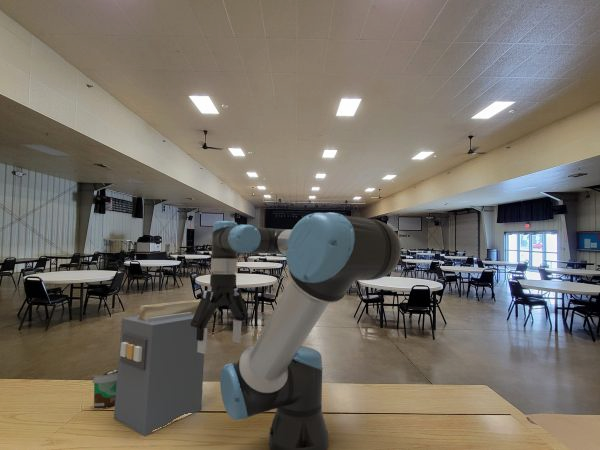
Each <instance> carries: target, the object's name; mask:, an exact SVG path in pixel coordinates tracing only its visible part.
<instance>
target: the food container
mask: <svg viewBox="0 0 600 450" xmlns="http://www.w3.org/2000/svg"><path fill="white" fill-rule="evenodd" d="M117 374H118V368H115V369H111V370H109V371H107V372H105V373H104V374H102V375H94V376H93V380H92V384H94V385H93V390H94V391H93V409H94V408H103V409H107V408H106V407H109V408H112V407H115V398H116V386H117Z"/></svg>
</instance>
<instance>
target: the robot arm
mask: <svg viewBox="0 0 600 450" xmlns="http://www.w3.org/2000/svg"><path fill="white" fill-rule="evenodd" d="M212 227H213V228H212V232H211V236H212V237H211V256H210V257H211V258H210V259H211V261H210V263H211V264H210V272H211V274H210V278H209V286H210V287H211V291H209V290H203V291H202V292H201V295H200V296H201V297H200V299H201V300H200V303H199V305H198V307H197V310H196V312H195V315H194V317H193V319H192V322H191V326H193V327H196V328H197V337H196V339H197V340H198V349H197V352H199V353H203V354H204V355H205V354H207V348H208V347H207V346H208V345H207V344H208V327H206V326H207V325H208V323H209V322H210V320H211V318H212V317H213V315H214V313H215V312H216V311H215V310H216V309H217V308H218V309H219V307H222V306H227V307H228V308H229V310H230V313H231V314H232V315H233V318H235V319H233V320H232V321H233V323H232V343H237V344H241V343H242V342H241V341H242V330H243V322H244V321H246V319H247V318H248V316H249V315H248V311H247V308H246V306H245V302H244V299H243V296H242V294H243V292H242V288H238V287H236V286H237V275H236V274H235V273H236V272H237V271H238V266H237V265H238V254H265V255H266V254H269V255H271V254H272V255H282V256H285V260H286V265H287V267H288V271H287V272H288V275H289V278H290V280H288V281H289V282H288V283H287V285H286V287H285V289H284V290H283V292H282V294H281V296H280V298H279V299H278V301H277V303H276V305H275V307H274V308H273V311H272V313H271V314H270V315H269V318H268V320H267V322H266V324H265V325H264V327H263V328H262V331H261V333H260V335H259V336H258V338H257V339H256V341H255V344H254V345H251V346H249V347H247V348H246V349H245V350H244V351H243V352H242V353H241V355H240V357H239V359H238V360H237V361H236V362H229V363H228V364H224V365H223V367H222V369H221V372H220V376H219V377H220V379H219V381H220V382H219V383H220V384H219V385H220V393H221V398H222V403H223V406H224V409H225V412H226V414H227V415H228V416H229V417H230V418H231V419H232V420H234V421H240V420H244V419H248V418H250V417H253V416H256V415H260V414H262V413H266V412H269V411H273V410H275V409H276V411H275V413H274V416H273V420H272V422H271V426H270V428H269V432H268V445H269V449H270V450H327V449H328V447H329V432H328V429H327V425H326V421H325V418H324V414H323V411H322V405H323V404H322V402H323V400H322V399H323V392H322V390H323V371H324V370H323V369H324V367H323V361H322V360H323V359H322V358H323V357H322V354H321V352H319V350H316V349H315V348H312V347H308V346H302V345H303V344H304V343H305V341H306V340H307V338H308V336H309V335H310V333H311V332H312V330H313V329H314V327H315V326H316V324H317V322H319V320H320V318H321V316H322V315H323V313H324V312H325V311H326V309H327V307H328V306H329V304H332V303H337V302H338V303H339V302H340V301H342V300H343V298H344V297H345V295H346V294H347V293H348V291H349V290H350V288H351V286H352V285H353V284H354V283H355V282H356V281H372V280H373V281H375V280H379V279H382V278H384V277H386V276H388V275H389V274H390V273H392V272H393V271H394V270H395V269H396V267H397V266H398V264H399V262H400V259H401V255H402V245H401V242H400V239H399V236H398V235H397V232H396V231H395V230H394V229H393V228H392V227H391V226H390V225H389V224H387V223H385V222H383V221H380V220H378V219H374V218H366V217H365V218H364V217H356V216H351V215H350V216H349V215H343V214H341V213H337V212H330V211H329V212H314V213H310V214H307V215H305V216H303V217H302V218H301V219H299V220H298V221H297V223H296V224H295V225H294V226H293V228H292V229H287V228H286V229H284V228H270V227H268V228H267V227H258V226H254V225H251V224H238V223H237V222H236V221H229V220H221V221H219V220H218V221H214V223H213V225H212ZM235 287H236V288H235ZM210 298H211V300H210ZM205 327H206V328H205Z"/></svg>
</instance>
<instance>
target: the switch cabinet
mask: <svg viewBox="0 0 600 450" xmlns="http://www.w3.org/2000/svg"><path fill="white" fill-rule="evenodd" d="M194 315H195V314H193V315H192V312H186V313H180V314H173V315H166V316H159V317H152V318H148V321H143V320H140V314H139V315H137V316H130V317H123V318H121V327H120V340H119V341H120V342H119V350H118V351H119V354H118V364H117V369H118V374H117V386H116V398H115V406H114V410H113V413H114V414H113V419H114V418H115V420H116V419H117V420H116V421H118V422H119V423H121V424H123V425H125V426H127V427H128V428H130V429H131V430H133V431H135V432H137V433H138V434H140V435H142V436H143V437H146V436H149V435H151V434H152V433H151V432H152V431H153V430H155V429H158V428H160V427H163V426H165V425H167V424H168V423H170V422H172V421H173V420H174V419H176V418H178V417H180V416H182V415H184V414H188V413H194V414H196V413H198V412H200V411H202V405H203V403H202V402H203V385H204V384H203V383H204V367H205V366H204V365H205V364H204V363H205V354H203V353H199V352H197V349H198V340H197V339H196V337H197V328H196V327H193V326H191V322H192V319H193V317H194ZM205 328H207V327H205ZM150 433H151V434H150Z"/></svg>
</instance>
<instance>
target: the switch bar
mask: <svg viewBox="0 0 600 450" xmlns="http://www.w3.org/2000/svg"><path fill="white" fill-rule="evenodd" d="M200 300H201V298H200V299H193V300H183V301H182V300H181V301H174V302H172V301H171V302H165V303H155V304H145V305H140V311H139V315H140V320H143V321H148V318H152V317H159V316H166V315H173V314H180V313H186V312H192V315H193V314H195V312H196V310H197V307H198V305H199V303H200ZM210 300H211V298H210ZM218 309H219V307H218V308H217V309H216V310H215V312H218V311H219V310H218Z"/></svg>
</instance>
